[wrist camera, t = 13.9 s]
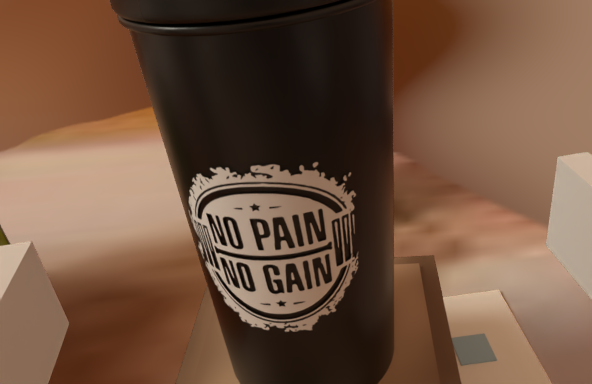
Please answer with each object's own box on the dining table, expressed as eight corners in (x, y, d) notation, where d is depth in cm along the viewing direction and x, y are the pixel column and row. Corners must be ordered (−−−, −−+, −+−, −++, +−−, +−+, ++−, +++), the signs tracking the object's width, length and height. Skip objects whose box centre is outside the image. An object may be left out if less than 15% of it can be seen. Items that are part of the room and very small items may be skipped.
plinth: (179, 544, 27) (145, 467, 24) (229, 333, 39) (212, 263, 36) (474, 549, 25) (480, 467, 22) (433, 326, 37) (433, 252, 34)
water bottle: (188, 421, 26) (-15, -163, 14) (243, 277, 34) (145, -162, 23) (411, 439, 24) (393, -233, 12) (411, 280, 32) (400, -203, 20)
